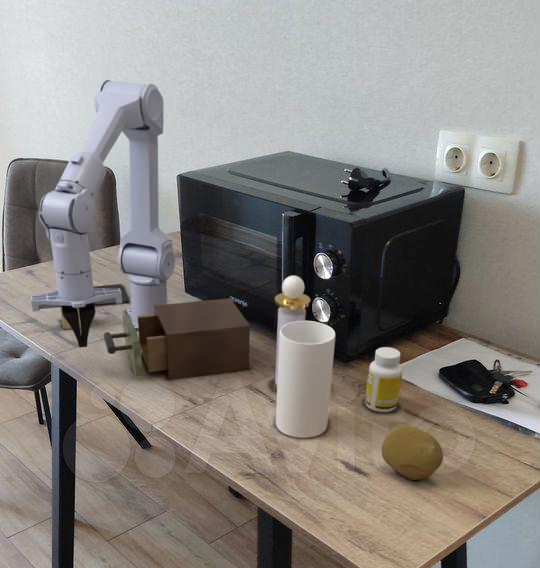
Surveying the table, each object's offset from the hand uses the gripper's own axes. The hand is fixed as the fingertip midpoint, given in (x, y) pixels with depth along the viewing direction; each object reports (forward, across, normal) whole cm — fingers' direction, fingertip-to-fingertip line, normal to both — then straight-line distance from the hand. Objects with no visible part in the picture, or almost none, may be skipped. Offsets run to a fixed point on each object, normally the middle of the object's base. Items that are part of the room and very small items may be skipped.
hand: (82, 344), depth 121 cm
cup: (+6, +31, -26) cm, 41 cm away
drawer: (+4, +13, 0) cm, 13 cm away
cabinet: (+5, +21, 0) cm, 22 cm away
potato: (+6, +41, -43) cm, 60 cm away
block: (+5, 0, +21) cm, 22 cm away
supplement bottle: (+6, +46, -24) cm, 52 cm away
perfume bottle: (+6, +33, -14) cm, 36 cm away
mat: (+5, +7, +34) cm, 35 cm away
